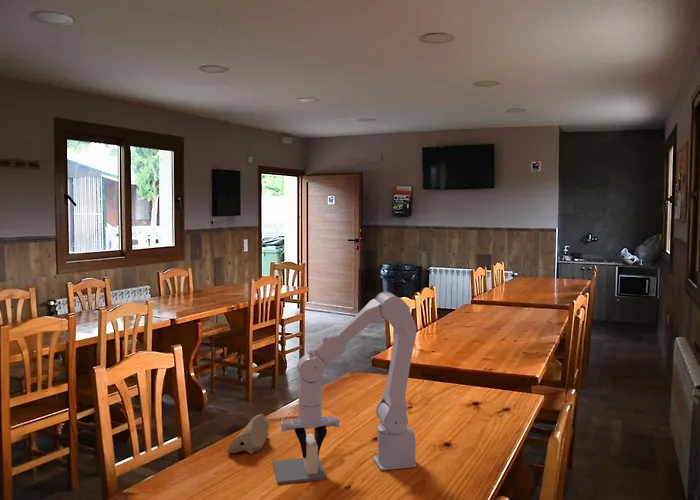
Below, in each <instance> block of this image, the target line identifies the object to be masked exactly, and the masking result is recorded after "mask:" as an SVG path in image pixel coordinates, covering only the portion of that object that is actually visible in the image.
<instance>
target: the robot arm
mask: <svg viewBox="0 0 700 500" xmlns="http://www.w3.org/2000/svg"><path fill="white" fill-rule="evenodd" d="M383 318H384V319H385V320H386V321H388V323H389V324H390V325H391V327H392V329H394V331H395V333H394V338H393V339H394V340H393V344H392V345H393V346H392V352H391V356H390V363H389V367H388V374H387V379H386V386H385V389H384V391H383V392H382V395H381V399H380V401H379V402H378V404H377V405H376V408H375V409H376V410H375V413H376V417H377V418H378V420H379V423H378V426H377V455H373V456H372V459H373V460H374V462H375V464H376V466H377V467H378V468H379V470H380V471H389V470H399V469H409V468H416V467H417V464H416V451H417V450H416V448H417V447H416V443H417V442H416V435H415V432H414V430H413V428H412V427H408V424H409V418H408V415H407V409H408V408H407V407H408V404H407V398H406V394H407V393H406V392H407V386H408V380H409V374H410V369H411V363H412V357H413V350H414V345H415V340H416V339H415V338H416V334H417V325H416V322H415V320H414V318H413V315H412V313H411V309H410V306H409V305H408V304H407V303H406V302H405V300H403V299H402V298H400V297H399V296H397V295H395V294H393V292H390V291H382V292H380V293H378V294H377V295H376V296H375V298H373V299H371V300H370V301H369V302H368V303H367V304H366V305H365V306H364V307H362V309H361V310H360V311H359V312H358V313H357V314H356V315H354V317H353V318H352V319H351V320H350V321H349V322H348V323H347V324H346V325H345V326H344V327H343V328H342V329H341V330H340V331H339V332H338V333H329V335H324V336H323V337H321V342H320V343H319V344H318V345H316V346H315V347H314V348H313V349H309V350H308V351H307V354H304V355H303V356H301V357H300V358H299V359H298V363H297V365H296V368H297V371H298V373H299V378H298V383H299V385H298V418H294V419H289V420H284V421H281V422H280V430H281V433H283V432H287V431H294V432H295V436H296V437H297V439H298V442H299V445H300V448H301V455H302V458H306V434H307V433H306V430H309V429H313V430H314V438H315V441H316V443H317V445H318V457H319V455H320V450H321V446H322V444H323V442H324V439H325V437H326V436H327V433H328V430H327V428H329V427H335V428H340V418H339V417H338V416H322V415H323V414H322V410H323V409H322V408H323V407H322V406H323V405H322V400H323V399H322V394H323V393H322V390H323V389H322V388H323V387H322V386H323V385H322V379H321V378H323V376H324V372H325V369H327V368H329V367H330V366H331V364H333V363H334V362H335V361H336V360H337V359H338V358H340V357H341V356H342V355H343V354H344V353H345V352H346V348H347V344H348V343H349V342H350V341H351V340H353V339H354V338H355V337H356V336H357V335H359V334H360V333H361V332H362V331H363V330H365V329H366V328H367V327H368V326H370V325H371V324H383V323H384V320H383ZM319 458H320V457H319Z"/></svg>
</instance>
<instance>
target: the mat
mask: <svg viewBox="0 0 700 500" xmlns="http://www.w3.org/2000/svg"><path fill="white" fill-rule="evenodd" d="M272 467H273V472H274V476H275V479H276V484H277V485H284V484H292V483H301V482H303V483H304V482H312V481H313V482H314V481H319V480H320V481H322V480H327V479H328V478H327V477H328V476H327V474H326V471H325V469H324V467H323V465H322V463H321V459H320V457H318V473H316V474H308V473H307V470H306V468H305V465H304V462H303V457H299V458H288V459H279V460H272Z"/></svg>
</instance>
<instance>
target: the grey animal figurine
mask: <svg viewBox="0 0 700 500" xmlns="http://www.w3.org/2000/svg"><path fill="white" fill-rule="evenodd" d="M269 427H270V423H269V420H268V418H267V417H266V416H265V415H264V414H263V413H260V414H258V415H254V417H252V418H251V419H250V421H249V422H248V424H247V425H246V426H245V427H244V429H243V430H242V431H241V432H239V434H238V435H236V436H235V438H234V439H233V440H232V441H231V443H230V444H229V446H228V448H227V451H226V452H227V453H228V454H233V453H234V454H236V453H240V452H243V451H246V452H247V453H249V454H251V455H252V454H253V453H255V452H258V451H260V450H262V448H263V445H265V442H266V440H267V438H268V437H269V435H270V433H269Z"/></svg>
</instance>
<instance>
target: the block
mask: <svg viewBox="0 0 700 500" xmlns="http://www.w3.org/2000/svg"><path fill="white" fill-rule="evenodd" d="M302 458H303V457H302ZM303 462H304V465H305V468H306V470H307V473H308V474H316V473H318V445H317V443H316V441H315V435H314V434H313V433H306V458H303Z"/></svg>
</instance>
